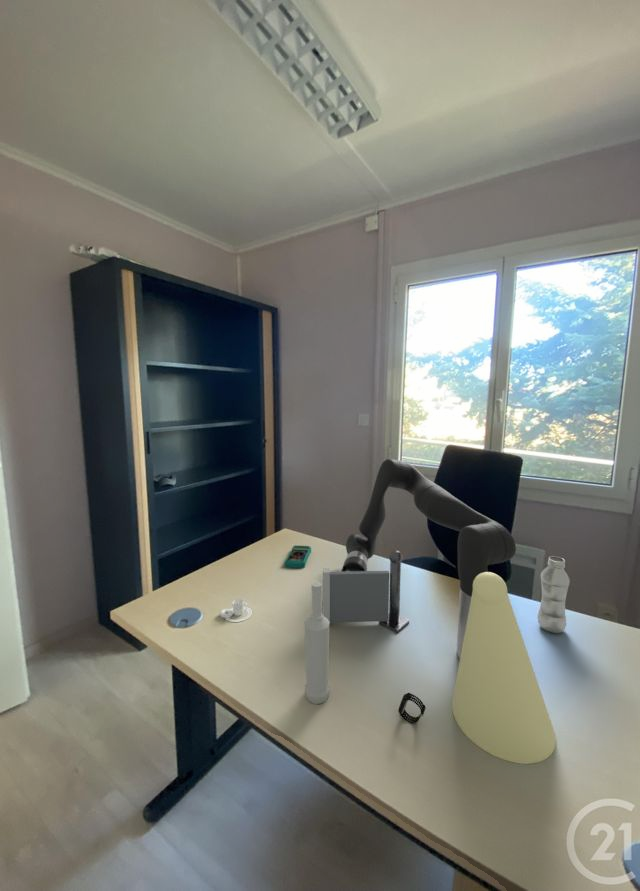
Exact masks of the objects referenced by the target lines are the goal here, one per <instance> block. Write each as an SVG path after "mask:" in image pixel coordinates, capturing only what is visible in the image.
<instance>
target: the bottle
mask: <svg viewBox="0 0 640 891" xmlns="http://www.w3.org/2000/svg"><path fill="white" fill-rule="evenodd" d="M311 597H312V598H311V607H312V608H311V611H312V612H311V614H310V616H309V617H307V618H306V619H305V621H304V650H305V685H304V686H305V688H304V691H305V692H304V693H305V697H306V699H307V700H308V701H309V702H310V703H312V704H314V705H319V704H323V703H325V702H327V700H328V698H329V697H330V685H329V665H330V664H329V658H330V623H329V620H328V619H327V618H325V617H324V616H323V582H320V581H314V582H312V583H311Z"/></svg>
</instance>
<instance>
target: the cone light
mask: <svg viewBox="0 0 640 891" xmlns="http://www.w3.org/2000/svg"><path fill="white" fill-rule="evenodd" d="M451 709H452V714H453V717H454V719H455V721H456V724H457V725H458V727H459V729H461V731H462V732H463V733H464V735H466V736H467V738H468V739H470V740H471V742H473V743H474V744H475V745H476V746H478V747H479V748H481V749H482V750H484V751H485V752H487V753H488V754H490V755H492V756H494V757H496V758H498V759H502V760H504V761H506V762H507V761H508V762H511V763H516V764H524V765H529V764H537V763H541V762H543V761H545V760H546V759H548V758H550V756H551V755H552V754H553V753H554V751H555V749H556V744H557V737H556V732H555V729H554V727H553V724H552V720H551V718H550V714H549V712H548V709H547V706H546V702H545V699H544V697H543V694H542V691H541V688H540V686H539V682H538V679H537V676H536V672H535V670H534V667H533V665H532V662H531V659H530V656H529V652H528V650H527V648H526V644H525V641H524V639H523V635H522V633H521V630H520V626H519V623H518V621H517V617H516V615H515V612H514V609H513V606H512V604H511V599H510V597H509V595H508V587H507V584H506V582H505V580H504V579H503V578H502V577H501V575H498V574H496V573H494V572H492V571H487V572H484V573H481V574H479V575H478V576H476V578H475V579H474V581H473V592H472V597H471V603H470V608H469V614H468V619H467V624H466V630H465V635H464V641H463V646H462V652H461V657H460V659H459V662H458V669H457V674H456V680H455V684H454V691H453V696H452V702H451Z"/></svg>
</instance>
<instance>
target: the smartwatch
mask: <svg viewBox="0 0 640 891" xmlns="http://www.w3.org/2000/svg"><path fill="white" fill-rule="evenodd" d="M409 701H410V702H413V703H414V704H415V705H416V706H417V707H418V708H419V709H420V714H419V715H418V716H412V715H410V714H409V713H408V712H407V711H406V707H407V704H408V702H409ZM425 711H426V704H424V703H423V701H422V700H421V699H420V698H419V697H418V696H417V695H414V694H412V693H411V692H407V693H404V694H403V696H402V698H401V701H400V704H399V706H398V714H399V716H400V717H401V718H402V719H403V720H404V721H406V722H407V723H410V724H413V725H414V724H416V723H418V722H419V720H420V719H422V717H423V716H424V713H425Z"/></svg>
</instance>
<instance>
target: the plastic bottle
mask: <svg viewBox="0 0 640 891" xmlns="http://www.w3.org/2000/svg"><path fill="white" fill-rule="evenodd" d="M565 569H566V560H565V559H564V558H563V557H559V556H556V555H555V556H553V555H551V556H549V557H548V561H547V567H545V568H544V569H543V570H542V572H541V573H540V582H541V584H540V585H541V601H540V606H539V609H538V612H537V623H538V625H539V626H540V628H542V629H543V630H545V631H547V632H549V633H554V634H561V633H563V632H564V631H565V630H566V627H567V616H566V599H567V593H568V590H569V586H570V582H571V580H570V577H569V576H568V574H567V572H566V571H565Z"/></svg>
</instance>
